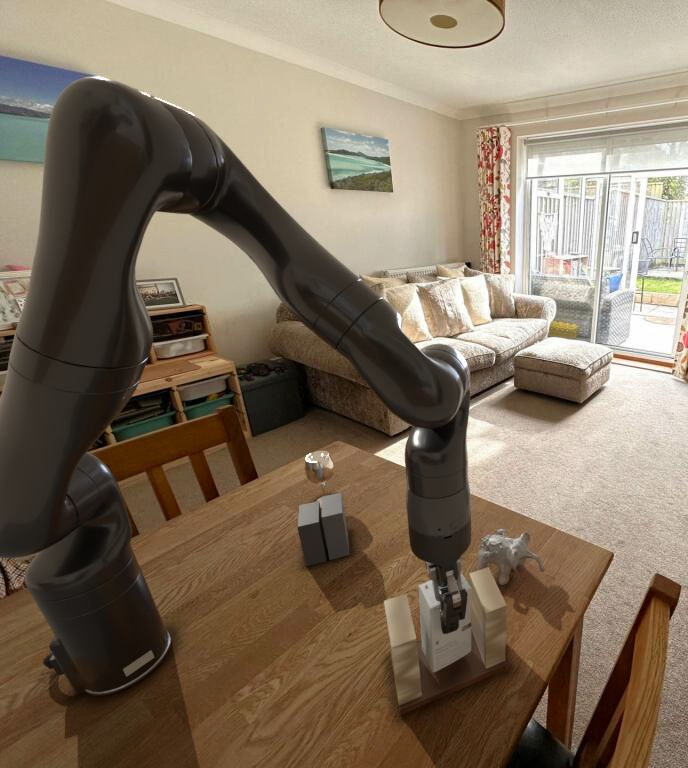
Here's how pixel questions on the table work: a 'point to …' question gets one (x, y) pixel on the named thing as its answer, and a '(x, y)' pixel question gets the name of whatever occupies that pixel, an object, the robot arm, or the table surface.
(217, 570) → the table surface
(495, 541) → the gray elephant figurine
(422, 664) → the book board
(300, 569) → the table surface
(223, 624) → the table surface
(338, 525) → the grey books
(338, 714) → the table surface
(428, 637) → the cosmetic box
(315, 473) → the wineglass
